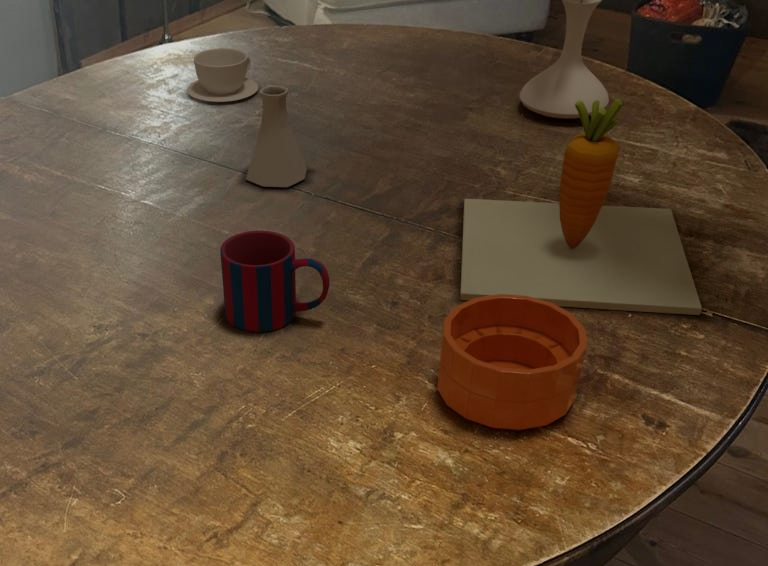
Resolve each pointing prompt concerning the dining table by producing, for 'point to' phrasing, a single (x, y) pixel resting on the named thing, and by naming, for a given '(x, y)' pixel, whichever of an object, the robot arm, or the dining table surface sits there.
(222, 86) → the teacup
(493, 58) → the dining table surface
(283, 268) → the cup
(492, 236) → the mat
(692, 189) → the dining table surface
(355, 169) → the dining table surface
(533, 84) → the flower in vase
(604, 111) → the carrot
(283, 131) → the flask
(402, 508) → the dining table surface
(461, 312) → the bowl
